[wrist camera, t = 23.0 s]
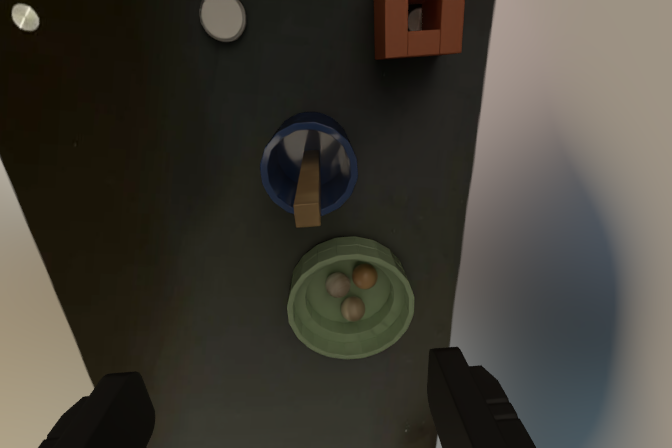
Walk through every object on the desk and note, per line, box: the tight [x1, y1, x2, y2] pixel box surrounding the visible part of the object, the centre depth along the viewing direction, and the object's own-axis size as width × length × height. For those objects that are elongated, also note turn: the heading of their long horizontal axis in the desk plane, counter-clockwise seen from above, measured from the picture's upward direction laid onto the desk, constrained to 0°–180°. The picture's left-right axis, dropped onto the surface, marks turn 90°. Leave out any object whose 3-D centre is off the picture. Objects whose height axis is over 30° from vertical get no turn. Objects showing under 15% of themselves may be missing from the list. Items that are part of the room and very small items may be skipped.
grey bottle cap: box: [199, 0, 246, 42], centre depth 32 cm, size 4×4×1 cm
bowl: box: [287, 236, 414, 359], centre depth 42 cm, size 14×14×5 cm
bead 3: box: [352, 263, 378, 289], centre depth 41 cm, size 3×3×3 cm
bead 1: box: [325, 272, 351, 298], centre depth 42 cm, size 3×3×3 cm
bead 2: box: [341, 296, 365, 322], centre depth 43 cm, size 3×3×3 cm
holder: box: [374, 0, 465, 60], centre depth 30 cm, size 6×6×6 cm
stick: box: [293, 150, 321, 228], centre depth 30 cm, size 2×2×16 cm
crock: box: [260, 112, 358, 216], centre depth 34 cm, size 8×8×8 cm
